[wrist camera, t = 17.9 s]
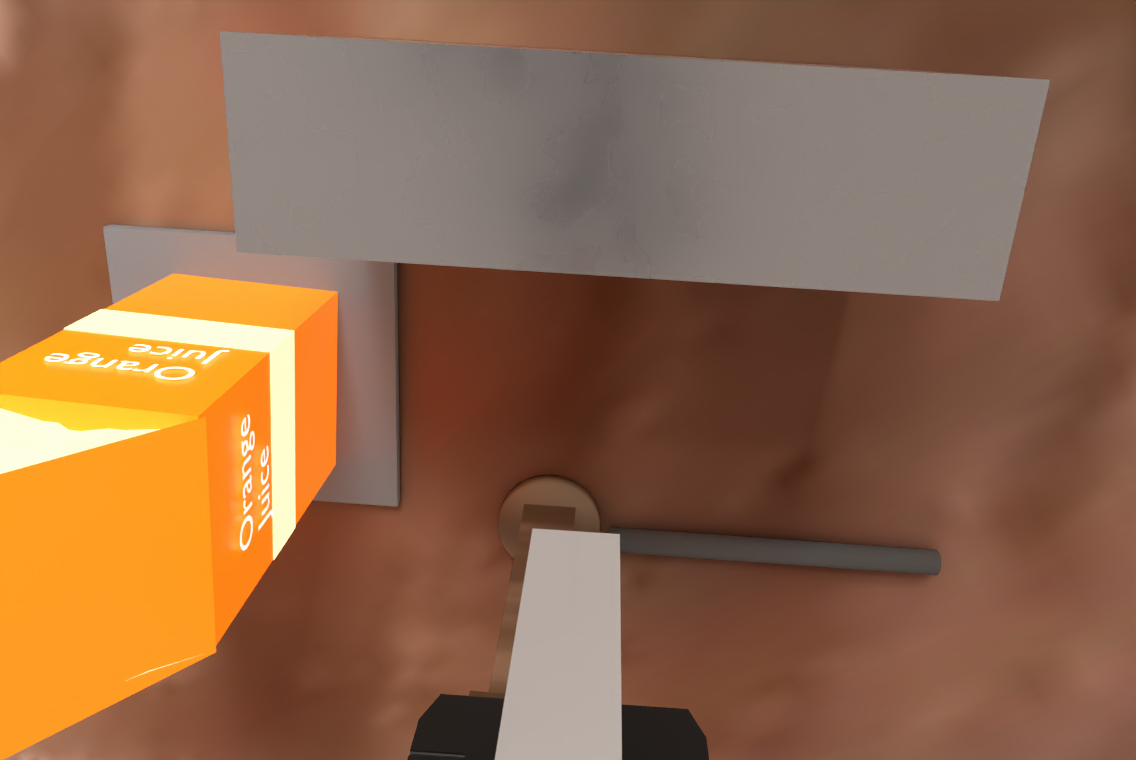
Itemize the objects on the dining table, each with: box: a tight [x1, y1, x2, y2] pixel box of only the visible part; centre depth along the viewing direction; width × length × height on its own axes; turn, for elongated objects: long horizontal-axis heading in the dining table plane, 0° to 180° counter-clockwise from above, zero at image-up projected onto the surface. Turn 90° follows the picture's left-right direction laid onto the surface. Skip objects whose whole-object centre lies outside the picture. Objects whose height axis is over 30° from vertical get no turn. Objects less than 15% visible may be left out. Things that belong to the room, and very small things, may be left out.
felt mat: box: [103, 224, 400, 507], centre depth 42 cm, size 13×13×1 cm
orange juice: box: [0, 274, 338, 760], centre depth 32 cm, size 8×9×20 cm
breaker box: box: [220, 31, 1050, 301], centre depth 31 cm, size 7×22×14 cm, turn 87°
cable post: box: [469, 475, 600, 699], centre depth 37 cm, size 5×5×16 cm
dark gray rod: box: [609, 527, 941, 575], centre depth 44 cm, size 1×16×1 cm, turn 87°
